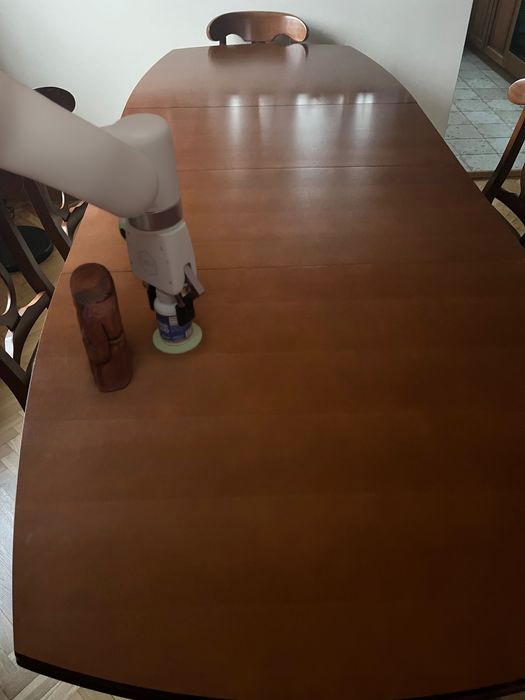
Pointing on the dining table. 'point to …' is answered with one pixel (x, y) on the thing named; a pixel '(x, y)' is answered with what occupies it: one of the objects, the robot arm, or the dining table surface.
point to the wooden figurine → (101, 326)
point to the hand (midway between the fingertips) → (172, 312)
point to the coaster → (180, 348)
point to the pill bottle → (170, 320)
